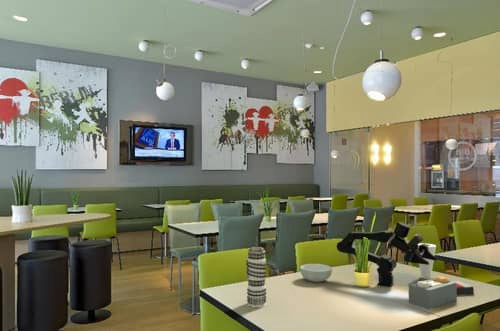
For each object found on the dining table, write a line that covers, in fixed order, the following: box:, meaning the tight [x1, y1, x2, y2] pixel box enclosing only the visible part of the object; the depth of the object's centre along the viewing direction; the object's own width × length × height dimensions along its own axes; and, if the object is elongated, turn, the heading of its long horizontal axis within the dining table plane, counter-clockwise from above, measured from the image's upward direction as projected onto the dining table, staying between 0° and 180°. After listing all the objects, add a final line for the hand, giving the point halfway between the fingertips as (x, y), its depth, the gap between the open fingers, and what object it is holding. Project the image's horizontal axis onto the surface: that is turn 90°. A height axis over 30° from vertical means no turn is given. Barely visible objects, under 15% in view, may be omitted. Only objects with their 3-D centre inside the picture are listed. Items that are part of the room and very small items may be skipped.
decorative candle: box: [245, 246, 268, 308], centre depth 173 cm, size 9×9×25 cm
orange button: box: [435, 276, 449, 283], centre depth 180 cm, size 5×5×3 cm
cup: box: [418, 242, 437, 280], centre depth 216 cm, size 11×11×18 cm
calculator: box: [451, 280, 475, 296], centre depth 191 cm, size 11×4×15 cm
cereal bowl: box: [299, 263, 333, 283], centre depth 212 cm, size 17×17×7 cm
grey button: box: [416, 280, 430, 289], centre depth 172 cm, size 5×5×3 cm
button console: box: [408, 277, 458, 310], centre depth 176 cm, size 10×21×8 cm, turn 123°
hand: (432, 261), depth 187 cm, fingers open, 9 cm apart
